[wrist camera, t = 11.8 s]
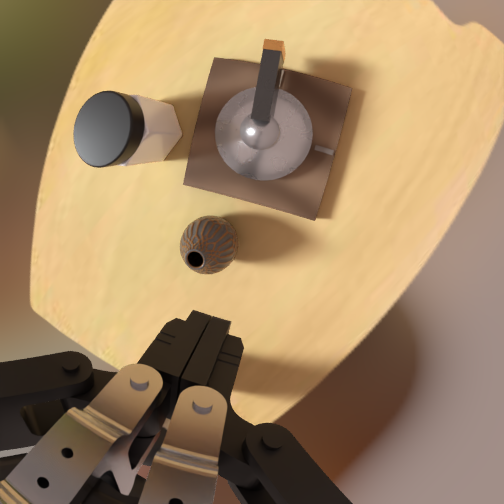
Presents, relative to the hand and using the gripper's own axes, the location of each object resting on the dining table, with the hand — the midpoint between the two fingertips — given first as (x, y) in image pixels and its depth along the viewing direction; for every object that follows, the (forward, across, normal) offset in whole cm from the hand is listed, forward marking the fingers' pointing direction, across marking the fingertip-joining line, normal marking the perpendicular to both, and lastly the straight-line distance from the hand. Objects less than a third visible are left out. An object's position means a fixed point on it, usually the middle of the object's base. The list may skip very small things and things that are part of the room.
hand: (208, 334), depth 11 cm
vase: (+28, +6, +5) cm, 29 cm away
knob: (+25, +3, -11) cm, 28 cm away
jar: (+27, +18, -7) cm, 33 cm away
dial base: (+27, +3, -9) cm, 28 cm away
